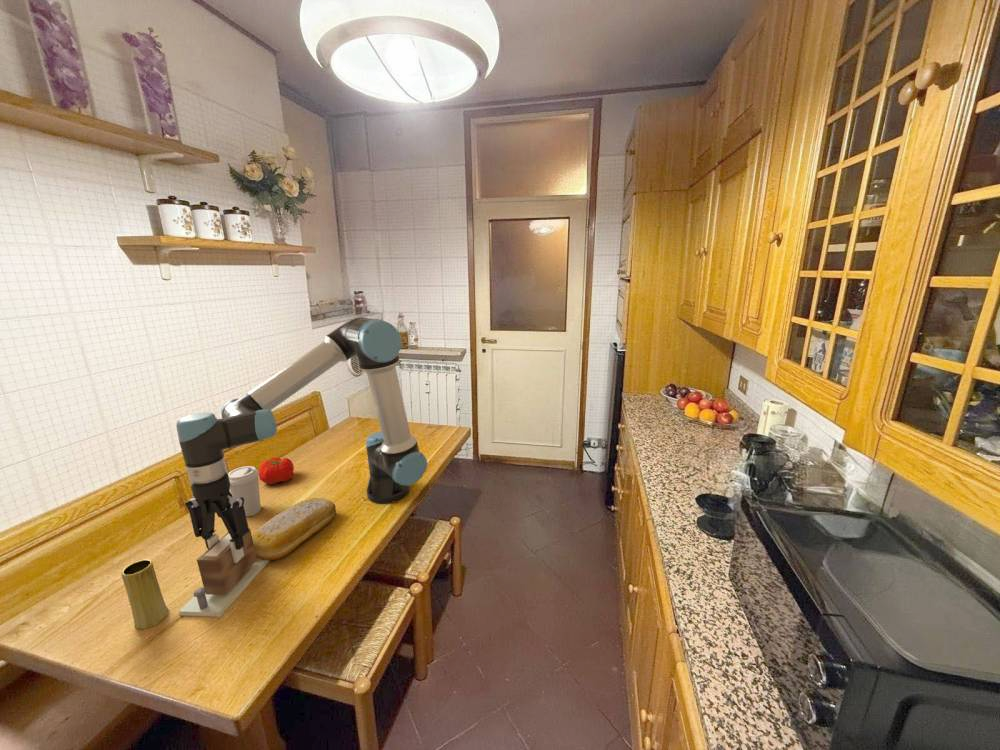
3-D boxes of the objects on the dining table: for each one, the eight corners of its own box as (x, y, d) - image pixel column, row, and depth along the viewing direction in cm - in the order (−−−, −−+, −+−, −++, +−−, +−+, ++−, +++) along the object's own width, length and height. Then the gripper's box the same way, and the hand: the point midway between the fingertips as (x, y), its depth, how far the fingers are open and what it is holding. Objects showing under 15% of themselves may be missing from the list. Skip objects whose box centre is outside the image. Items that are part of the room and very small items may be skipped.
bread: (241, 559, 112) (237, 534, 110) (309, 509, 137) (306, 488, 135) (280, 568, 109) (277, 543, 107) (342, 515, 133) (340, 494, 132)
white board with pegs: (272, 557, 113) (268, 540, 112) (220, 616, 94) (215, 596, 92) (238, 556, 114) (234, 539, 112) (179, 615, 94) (174, 595, 93)
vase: (148, 609, 97) (133, 558, 93) (175, 606, 97) (161, 556, 93) (127, 630, 91) (110, 578, 87) (156, 628, 91) (140, 575, 88)
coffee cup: (250, 521, 130) (242, 480, 126) (226, 518, 132) (216, 477, 128) (272, 505, 139) (264, 465, 136) (249, 502, 141) (241, 464, 137)
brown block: (239, 559, 109) (232, 527, 107) (257, 560, 109) (250, 527, 106) (205, 594, 98) (196, 559, 95) (225, 594, 97) (216, 559, 95)
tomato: (252, 485, 153) (248, 465, 151) (280, 470, 164) (277, 451, 162) (276, 491, 148) (272, 470, 146) (303, 475, 159) (300, 456, 157)
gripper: (159, 484, 93) (182, 568, 99) (233, 485, 92) (252, 570, 98) (186, 469, 100) (206, 548, 106) (255, 469, 99) (271, 549, 105)
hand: (228, 558), depth 102 cm, fingers open, 5 cm apart
